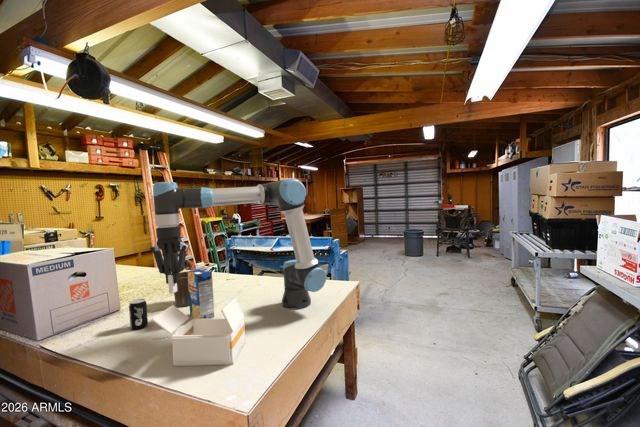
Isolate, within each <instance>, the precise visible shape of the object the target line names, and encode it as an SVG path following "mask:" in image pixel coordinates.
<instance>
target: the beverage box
mask: <svg viewBox="0 0 640 427" xmlns="http://www.w3.org/2000/svg"><path fill="white" fill-rule="evenodd" d="M187 272H188V288H189V304H190V306H189V316H190V318H192V319H207V318H215V302H214V285H213V284H214V283H213V271H212V270H210V269H205V268H197V269H193V270H187Z"/></svg>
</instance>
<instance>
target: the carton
mask: <svg viewBox="0 0 640 427" xmlns="http://www.w3.org/2000/svg"><path fill="white" fill-rule="evenodd" d="M245 329H246V328H245V316H244V317H243V319H242V320H241V321H240V323H239V324H238V325H237V327H236V328H235V330H234V331H233V332H232V331H231V329H230V327H229V325H228V323H227V321H226V319H225V317H216V318H215V317H213V318H207V319H194V318H192V319H190V320H189V321H188V322H187V323H186V324H185V325H183V327H181V328H179V330H177V332H175V333H174V334H173V335H171V350H172V361H173V367H184V366H185V367H187V366H191V367H192V366H194V367H195V366H220V365H221V366H225V365H226V366H227V365H229V366H230V365H231V366H232V365H234V363H235V362H236V360H237V358H239V355H240V353H241V352H242V350H243V348H244V346H245V344H246V330H245Z"/></svg>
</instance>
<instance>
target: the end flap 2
mask: <svg viewBox="0 0 640 427" xmlns="http://www.w3.org/2000/svg"><path fill="white" fill-rule="evenodd" d="M221 313H222V316H223V318H225V319H226V321H227V323H228V325H229V327H230V329H231V331H232V332H233V331H234V330H235V328H236V327H237V325H238V324H239V323H240V321H241V320H242V319H243V317H244V318H245V314H244V313H243V310H242V309H241V306H240V305H239V303H238V301H237V299H236V297H235V296H234V297H233V298H231V300H230V301H229V302H228V303H227V304H226V305H225V306H224V307H223V308H222V309H221Z"/></svg>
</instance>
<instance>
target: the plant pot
mask: <svg viewBox="0 0 640 427" xmlns="http://www.w3.org/2000/svg"><path fill="white" fill-rule="evenodd" d="M187 271H188V270H187ZM187 271H186V270H185V271H181V272H179V273H178V276H179V282H178V283H177V292H175V293H173V295H174V303H175V306H177V307H190V304H189V288H188V272H187Z"/></svg>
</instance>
